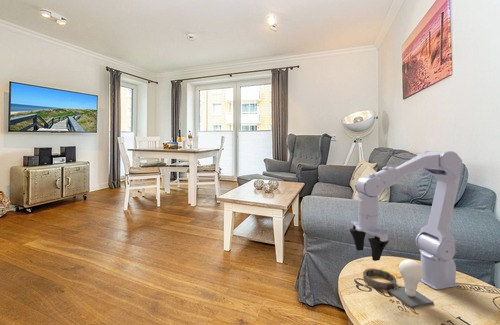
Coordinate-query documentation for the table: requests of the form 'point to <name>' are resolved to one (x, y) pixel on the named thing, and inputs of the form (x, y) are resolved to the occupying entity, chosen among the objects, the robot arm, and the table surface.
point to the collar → (379, 284)
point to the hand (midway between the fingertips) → (367, 254)
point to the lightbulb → (411, 275)
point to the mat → (410, 298)
